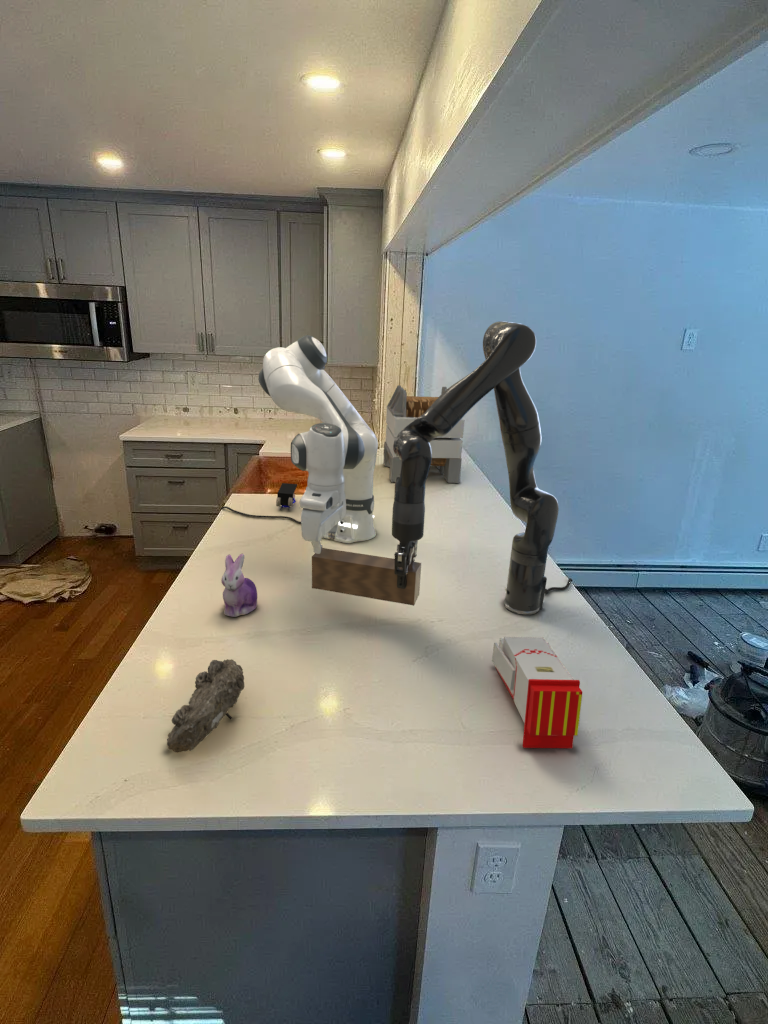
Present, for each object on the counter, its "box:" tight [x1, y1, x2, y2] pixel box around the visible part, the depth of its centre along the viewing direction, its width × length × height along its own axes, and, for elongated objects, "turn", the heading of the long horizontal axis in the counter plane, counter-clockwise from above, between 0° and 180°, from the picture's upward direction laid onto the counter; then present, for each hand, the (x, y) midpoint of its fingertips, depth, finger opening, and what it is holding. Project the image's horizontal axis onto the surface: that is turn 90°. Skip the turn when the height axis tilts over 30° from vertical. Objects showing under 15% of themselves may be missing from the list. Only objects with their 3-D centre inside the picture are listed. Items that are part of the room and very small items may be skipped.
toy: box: [491, 636, 583, 749], centre depth 115 cm, size 12×13×30 cm
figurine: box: [220, 553, 258, 618], centre depth 144 cm, size 9×10×15 cm
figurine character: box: [275, 482, 298, 511], centre depth 221 cm, size 7×8×15 cm
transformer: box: [383, 384, 465, 484], centre depth 268 cm, size 34×33×41 cm
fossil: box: [166, 658, 245, 754], centre depth 106 cm, size 22×10×15 cm
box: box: [311, 547, 422, 607], centre depth 141 cm, size 26×6×9 cm, turn 74°
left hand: (325, 545), depth 141 cm, fingers open, 8 cm apart
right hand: (404, 581), depth 138 cm, fingers closed on box, 6 cm apart
